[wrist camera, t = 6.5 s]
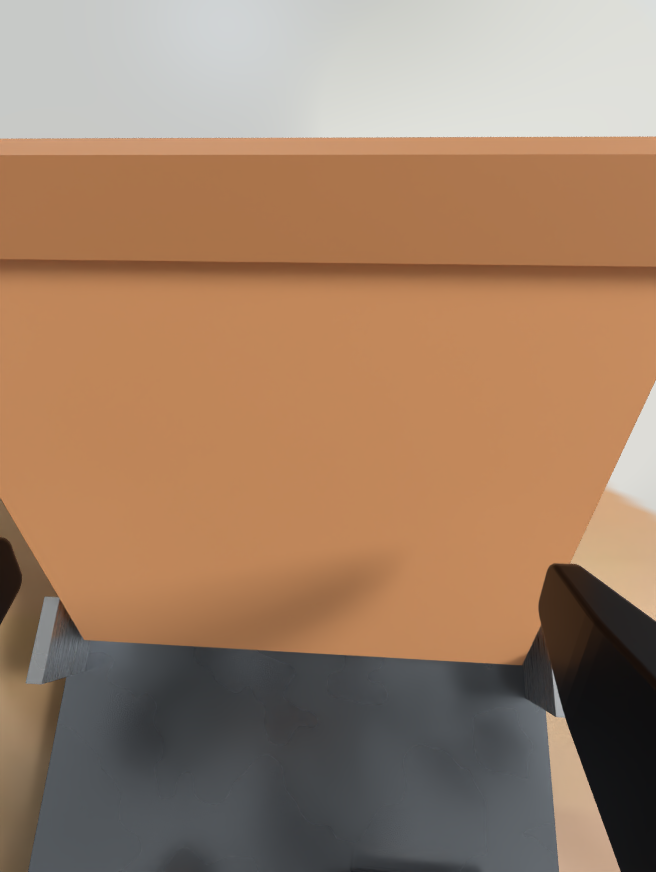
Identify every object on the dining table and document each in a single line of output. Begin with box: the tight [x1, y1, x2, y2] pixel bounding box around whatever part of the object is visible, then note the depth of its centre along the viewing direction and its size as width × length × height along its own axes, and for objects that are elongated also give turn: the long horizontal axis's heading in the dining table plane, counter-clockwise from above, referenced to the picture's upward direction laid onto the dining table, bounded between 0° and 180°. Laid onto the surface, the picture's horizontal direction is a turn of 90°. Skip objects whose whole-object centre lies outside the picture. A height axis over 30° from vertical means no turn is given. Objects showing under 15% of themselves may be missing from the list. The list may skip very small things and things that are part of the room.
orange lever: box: [0, 137, 656, 665], centre depth 10 cm, size 2×12×11 cm
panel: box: [26, 597, 565, 872], centre depth 12 cm, size 11×13×3 cm
